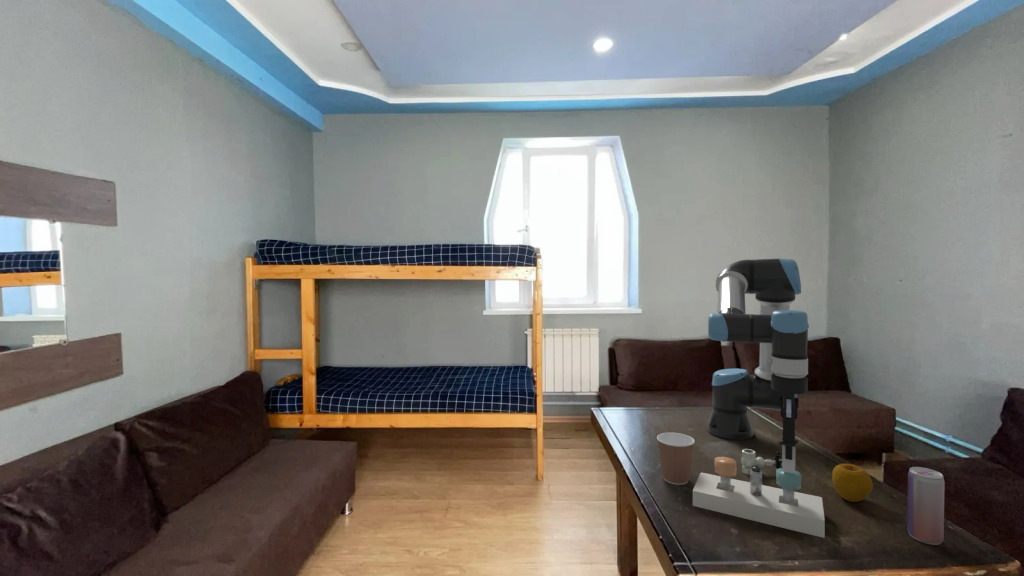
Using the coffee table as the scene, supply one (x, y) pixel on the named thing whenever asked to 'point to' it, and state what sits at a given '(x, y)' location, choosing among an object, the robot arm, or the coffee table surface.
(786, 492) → the knob teal
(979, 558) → the coffee table surface
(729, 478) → the knob terracotta
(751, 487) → the pot post
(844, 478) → the apple
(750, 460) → the valve
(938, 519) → the beverage can
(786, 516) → the mount board
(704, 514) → the coffee table surface
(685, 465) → the coffee cup
